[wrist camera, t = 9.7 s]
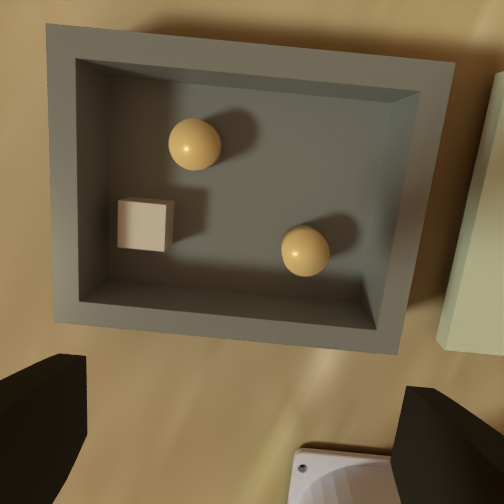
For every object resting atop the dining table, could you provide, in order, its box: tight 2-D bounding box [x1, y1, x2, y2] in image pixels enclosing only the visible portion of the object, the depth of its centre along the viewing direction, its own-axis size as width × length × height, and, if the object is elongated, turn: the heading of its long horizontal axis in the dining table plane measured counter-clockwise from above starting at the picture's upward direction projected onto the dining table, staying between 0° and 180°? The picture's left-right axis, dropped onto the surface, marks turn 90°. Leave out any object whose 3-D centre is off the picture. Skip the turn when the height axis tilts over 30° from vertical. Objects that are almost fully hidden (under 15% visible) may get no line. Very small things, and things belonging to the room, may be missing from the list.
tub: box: [46, 23, 456, 355], centre depth 16 cm, size 11×14×4 cm
